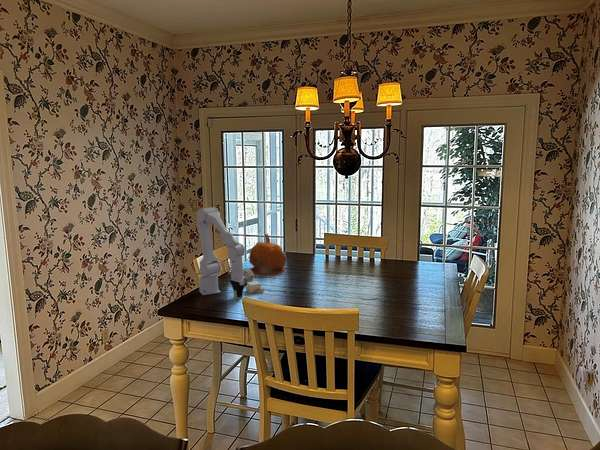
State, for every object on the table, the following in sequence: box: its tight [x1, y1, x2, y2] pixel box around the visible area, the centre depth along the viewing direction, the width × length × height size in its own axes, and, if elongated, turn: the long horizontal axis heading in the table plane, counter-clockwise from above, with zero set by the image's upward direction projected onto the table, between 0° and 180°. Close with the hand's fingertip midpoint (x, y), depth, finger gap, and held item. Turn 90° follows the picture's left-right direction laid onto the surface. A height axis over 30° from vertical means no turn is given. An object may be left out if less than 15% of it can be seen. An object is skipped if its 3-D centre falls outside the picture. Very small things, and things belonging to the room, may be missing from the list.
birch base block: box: [245, 286, 265, 295], centre depth 230 cm, size 7×7×2 cm
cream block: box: [246, 280, 262, 290], centre depth 230 cm, size 6×6×2 cm
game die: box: [243, 268, 256, 284], centre depth 245 cm, size 9×8×10 cm
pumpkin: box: [248, 233, 287, 276], centre depth 270 cm, size 22×25×23 cm
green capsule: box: [232, 290, 244, 301], centre depth 219 cm, size 4×4×4 cm
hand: (238, 295), depth 219 cm, fingers closed on green capsule, 4 cm apart
